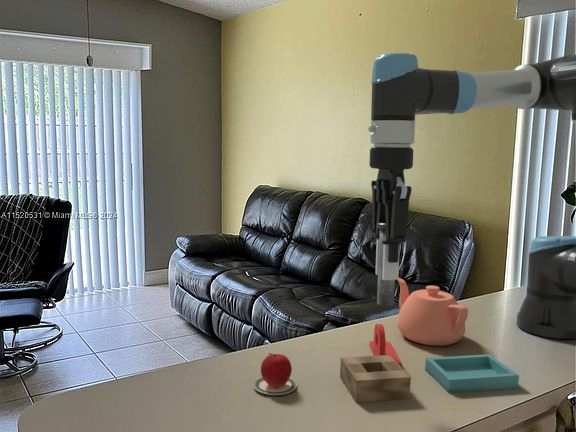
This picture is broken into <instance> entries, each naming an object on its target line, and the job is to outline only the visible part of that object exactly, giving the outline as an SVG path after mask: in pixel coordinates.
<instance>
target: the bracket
mask: <svg viewBox="0 0 576 432" xmlns="http://www.w3.org/2000/svg"><path fill="white" fill-rule="evenodd" d="M368 343H369V344H368V345H369V347H370V350H371V352H372V356H381V355H391V356H392V358H393V359H394V360H395V361H396V362H397V363H398V364H399V365H400V366H401V367H402V362H401V360H400V358H399V356H398V354H397V353H396V350H395V349H394V346H393V345H392V343H391V342H390V341H387V340H386V331H385V327H384V324H382V323H375V326H374V330H373V340H370V341H369V342H368Z"/></svg>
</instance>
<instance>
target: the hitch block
mask: <svg viewBox="0 0 576 432" xmlns="http://www.w3.org/2000/svg"><path fill="white" fill-rule="evenodd" d="M339 364H340V367H339V370H340V371H339V379H340V380H341V381H342V384H343V385H344V386H345V388H346V389H347V392H349V394H350V395H351V397H352V399H353V401H354V402H355V403H365V402H377V401H392V400H403V399H404V400H405V399H407V400H409V399H410V398H411V397H410V396H411V381H412V380H411V376H410V374H408V373H407V372H406V370H405V369H404V368H403V367H402V365H401V366H400V365H399V364H398V363H397V362H396V361H395V360H394V359H393V358H392V356H391V355H381V356H374V355H368V356H363V355H362V356H351V357H350V356H347V357H340V363H339Z"/></svg>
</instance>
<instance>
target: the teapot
mask: <svg viewBox="0 0 576 432" xmlns="http://www.w3.org/2000/svg"><path fill="white" fill-rule="evenodd" d="M397 282H398V284H399V287H400V292H399V299H398V302H399V303H398V304H399V305H398V306H399V313H398V316H397V321H396V325H397V328H398V329H399V331H400V333H401V334H402V335H403V337H405V338H406V339H408V340H409V341H411V342H413V343H418V344H421V345H426V346H433V347H443V346H449V345H453V344H455V343H458V341H460V339H462V337H464V335H465V333H466V321H467V319H468V315H469V310H468V308H467V307H466V306H465V305H460V304H459V303H458V302H457V300H456V298H455V296H454V295H452V294H451V293H448V292H447V291H442V290H441V289H440V287H439V286H437V285H426V286H425V289H418V290H415V291H414V290H413V291H412V292H411V293H410V292H409V287H408V285H407V284H408V283H407V282H406V281H405V280H404V279H403V278H401V277H399V276H398V280H397Z"/></svg>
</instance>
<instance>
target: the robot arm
mask: <svg viewBox="0 0 576 432" xmlns="http://www.w3.org/2000/svg"><path fill="white" fill-rule="evenodd" d="M418 61H419V60H418V57H417V55H415V54H411V53H407V52H406V53H405V52H394V53H393V52H389V53H383V54H380V55H378V56H376V58H375V59H374V61H373V67H372V74H371V75H372V77H371V83H370V84H371V109H370V110H371V111H370V112H371V114H370V115H371V117H370V120H371V121H370V126H369V127H368V129H367V130H368V132H370V144H372V145H373V147H370V149H369V163H368V164H369V168H371V169H375V170H376V169H377V170H378V171H377V176H376V177H377V178H376V180H371V184H370V185H371V192H372V193H371V195H372V200H371V201H372V202H371V203H372V204H371V205H372V207H371V209H372V213H371V216H372V217H371V219H372V222H371V223H372V224H371V225H372V227H371V230H372V231H371V232H372V233H373V234H374V235H375V238H376V247H375V249H376V250H375V251H376V252H375V275H376V276H378V263H379V236H380V229H379V228H377V223H378V222H386V241H382V244H384V246H383V273H382V279H383V280H395V281H398V277H399V270H400V248H401V247H400V246H401V244H402V243H406V241H407V231H408V221H409V219H408V218H409V207H410V198H411V195H412V187H411V185H410V186H409V185H406V182H405V181H406V180H405V170H411V169H412V168H413V166H414V149H413V147H411V145H413V144H415V134H416V132H415V131H416V115H417V116H419V115H432V114H448V115H455V114H464V113H467V112H468V111H470V110H475V109H476V110H477V109H488V108H498V107H499V108H500V107H509V106H510V107H511V106H513V107H515V108H516V109H519V110H528V109H534V110H535V109H539V110H552V111H553V110H554V111H571V112H570V113H571V122H573V123H574V124H575V125H576V54H569V55H563V56H560V57H559V56H558V57H555V58H551V59H549V60H544V61H540V62H535V63H530V64H527V63H526V64H521V65H518V66H516V67H515V68H514V69H512V70H495V71H494V70H493V71H480V72H479V71H478V72H466V71H459V70H456V69H454V70H448V69H430V68H429V69H425V68H420V67H419V64H418ZM529 249H530V250H529V252H528V264H527V265H528V269H527V283H526V294H525V297H524V299H523V301H522V304H521V306H520V308H519V311H518V312H517V315H516V326H517V327H518V328H520V329H521V330H522V331H525V332H528V333H530V334H533V335H537V336H540V337H545V338H551V339H562V340H563V339H565V340H569V339H570V340H571V339H573V340H574V339H576V236H573V235H569V236H568V235H551V236H550V235H548V236H547V235H546V236H536V237H535V238H533V239H532V241H531V243H530V248H529Z"/></svg>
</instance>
